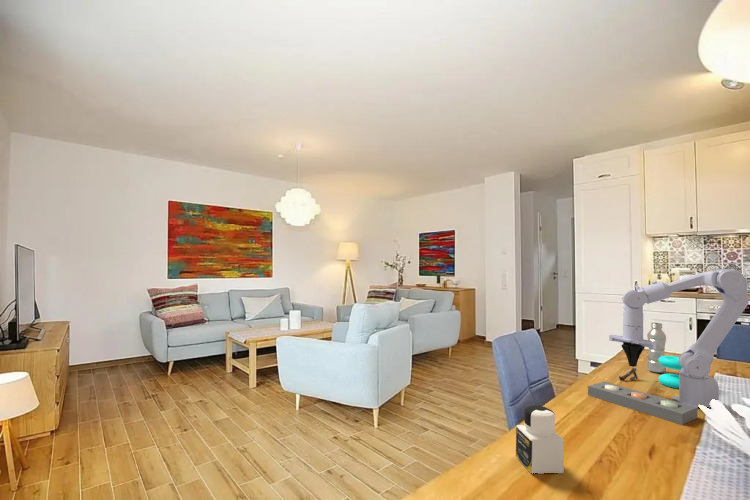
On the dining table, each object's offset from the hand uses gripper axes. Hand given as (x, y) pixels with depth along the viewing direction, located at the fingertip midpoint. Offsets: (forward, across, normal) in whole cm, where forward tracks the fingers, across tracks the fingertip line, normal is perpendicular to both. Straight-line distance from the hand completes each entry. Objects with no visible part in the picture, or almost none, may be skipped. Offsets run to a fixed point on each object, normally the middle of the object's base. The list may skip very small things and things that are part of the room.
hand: (632, 366), depth 129 cm
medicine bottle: (+10, +13, -69) cm, 71 cm away
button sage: (+8, +14, -10) cm, 19 cm away
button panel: (+9, +6, -10) cm, 15 cm away
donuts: (+10, +3, +25) cm, 27 cm away
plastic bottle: (+10, -9, +39) cm, 41 cm away
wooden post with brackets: (+10, -9, +16) cm, 21 cm away
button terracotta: (+9, +6, -10) cm, 15 cm away
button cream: (+9, -2, -10) cm, 13 cm away
